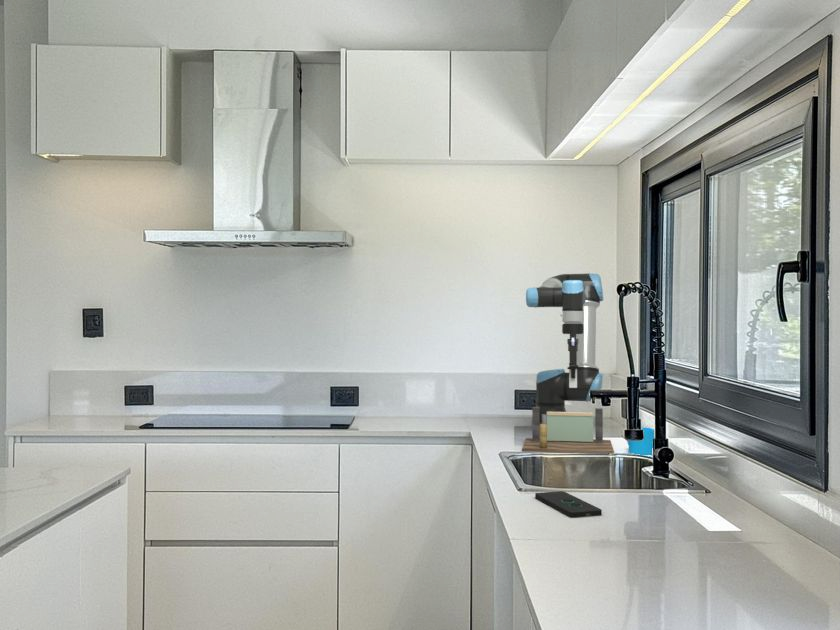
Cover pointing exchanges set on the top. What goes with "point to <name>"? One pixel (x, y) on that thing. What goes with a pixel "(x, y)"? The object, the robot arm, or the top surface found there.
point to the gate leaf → (569, 426)
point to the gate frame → (542, 445)
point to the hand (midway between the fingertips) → (573, 386)
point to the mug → (643, 443)
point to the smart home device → (568, 504)
